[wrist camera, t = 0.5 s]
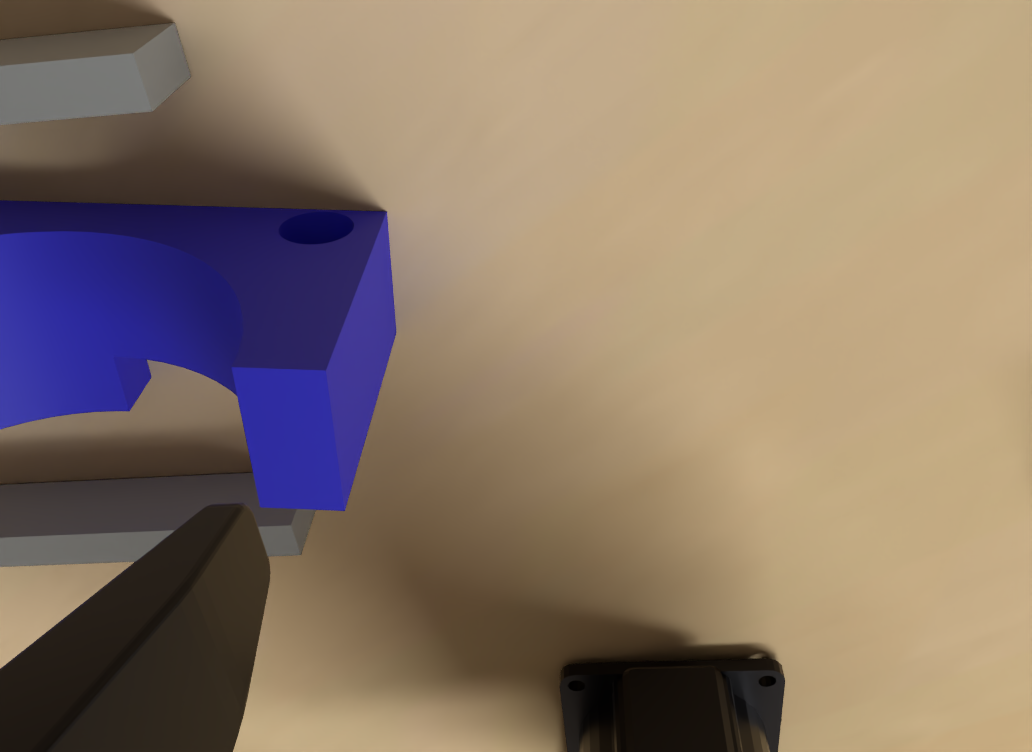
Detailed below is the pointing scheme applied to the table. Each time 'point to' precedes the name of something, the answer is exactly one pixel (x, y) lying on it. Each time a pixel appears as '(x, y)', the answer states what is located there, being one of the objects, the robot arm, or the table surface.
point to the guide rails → (117, 502)
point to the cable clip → (205, 323)
